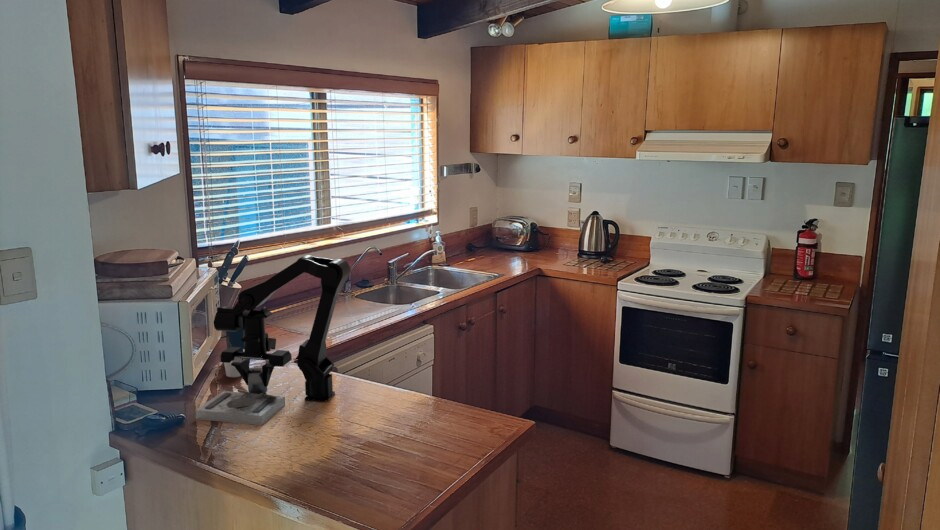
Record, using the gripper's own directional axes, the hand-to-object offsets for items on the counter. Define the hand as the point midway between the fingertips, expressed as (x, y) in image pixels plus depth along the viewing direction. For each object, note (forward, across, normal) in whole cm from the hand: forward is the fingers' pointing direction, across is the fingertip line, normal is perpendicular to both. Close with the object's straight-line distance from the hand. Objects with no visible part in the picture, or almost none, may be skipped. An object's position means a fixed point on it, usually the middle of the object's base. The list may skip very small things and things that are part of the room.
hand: (257, 385), depth 188 cm
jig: (+2, -2, +12) cm, 13 cm away
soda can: (+2, +19, -24) cm, 31 cm away
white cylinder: (+2, +14, -13) cm, 19 cm away
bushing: (+2, 0, 0) cm, 2 cm away
